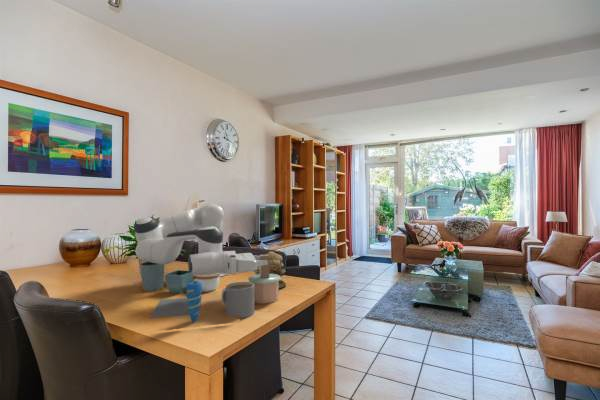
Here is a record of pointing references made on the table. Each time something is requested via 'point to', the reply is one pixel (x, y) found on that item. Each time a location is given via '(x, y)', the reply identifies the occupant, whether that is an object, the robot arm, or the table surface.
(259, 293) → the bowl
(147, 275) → the blue-grey tapered cup
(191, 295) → the ornament
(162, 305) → the mat
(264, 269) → the lid
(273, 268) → the brown rock sculpture
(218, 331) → the table surface
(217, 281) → the lidded jar
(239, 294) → the coffee mug
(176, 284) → the flower pot
